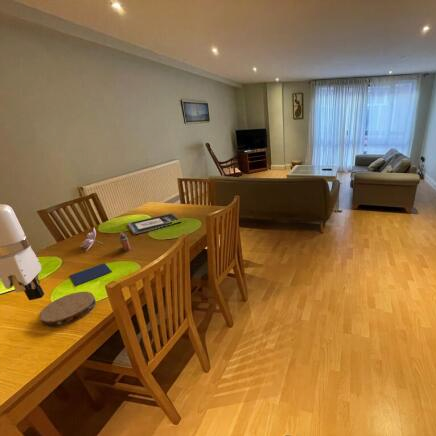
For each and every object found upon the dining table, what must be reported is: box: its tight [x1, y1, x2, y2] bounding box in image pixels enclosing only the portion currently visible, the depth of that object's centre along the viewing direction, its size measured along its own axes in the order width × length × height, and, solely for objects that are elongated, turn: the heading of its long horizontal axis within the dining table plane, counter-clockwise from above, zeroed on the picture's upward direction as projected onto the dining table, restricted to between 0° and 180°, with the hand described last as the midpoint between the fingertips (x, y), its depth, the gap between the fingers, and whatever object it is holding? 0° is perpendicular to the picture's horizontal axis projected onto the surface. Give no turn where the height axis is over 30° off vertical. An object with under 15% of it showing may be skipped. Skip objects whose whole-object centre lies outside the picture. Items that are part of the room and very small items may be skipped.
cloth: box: [69, 262, 113, 287], centre depth 116 cm, size 14×12×1 cm
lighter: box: [119, 231, 132, 253], centre depth 137 cm, size 8×3×10 cm, turn 45°
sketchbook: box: [126, 213, 179, 235], centre depth 171 cm, size 22×30×2 cm
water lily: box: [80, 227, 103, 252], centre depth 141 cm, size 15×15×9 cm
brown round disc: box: [38, 291, 97, 328], centre depth 93 cm, size 16×16×3 cm
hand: (37, 297), depth 76 cm, fingers closed
